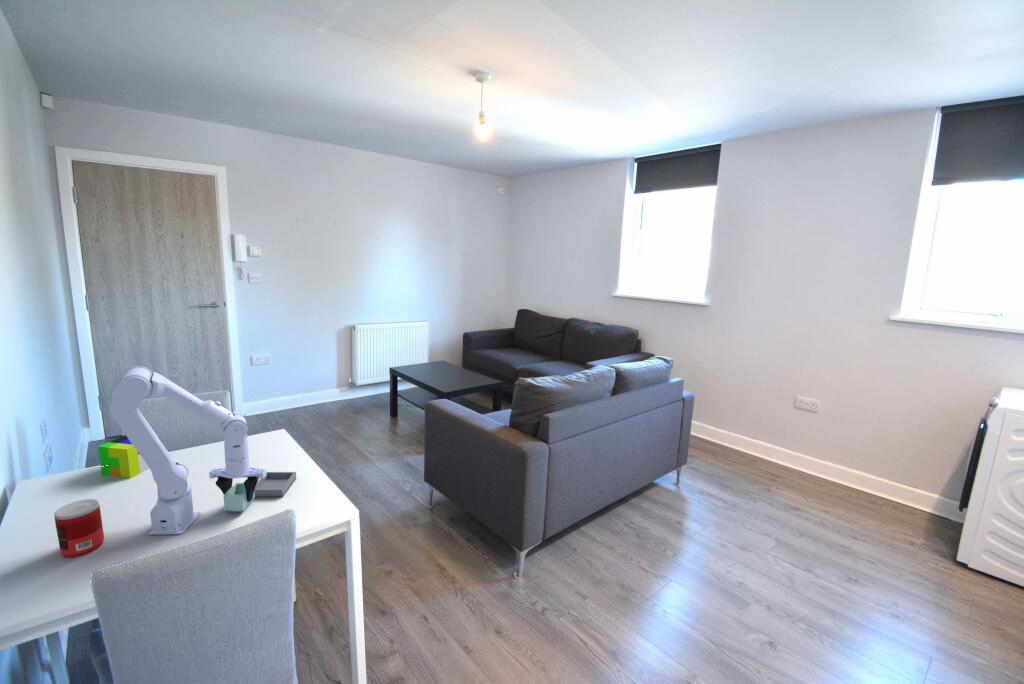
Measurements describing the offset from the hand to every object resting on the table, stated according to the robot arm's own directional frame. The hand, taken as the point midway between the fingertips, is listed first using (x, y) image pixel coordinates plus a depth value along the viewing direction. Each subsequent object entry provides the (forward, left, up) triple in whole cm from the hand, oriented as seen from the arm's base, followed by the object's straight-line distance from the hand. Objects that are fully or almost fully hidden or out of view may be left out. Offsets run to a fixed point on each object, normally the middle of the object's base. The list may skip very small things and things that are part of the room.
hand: (239, 499), depth 130 cm
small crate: (0, 0, -2) cm, 2 cm away
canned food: (-17, +29, -3) cm, 34 cm away
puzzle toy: (+23, +45, -3) cm, 51 cm away
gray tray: (+11, -5, -3) cm, 12 cm away
